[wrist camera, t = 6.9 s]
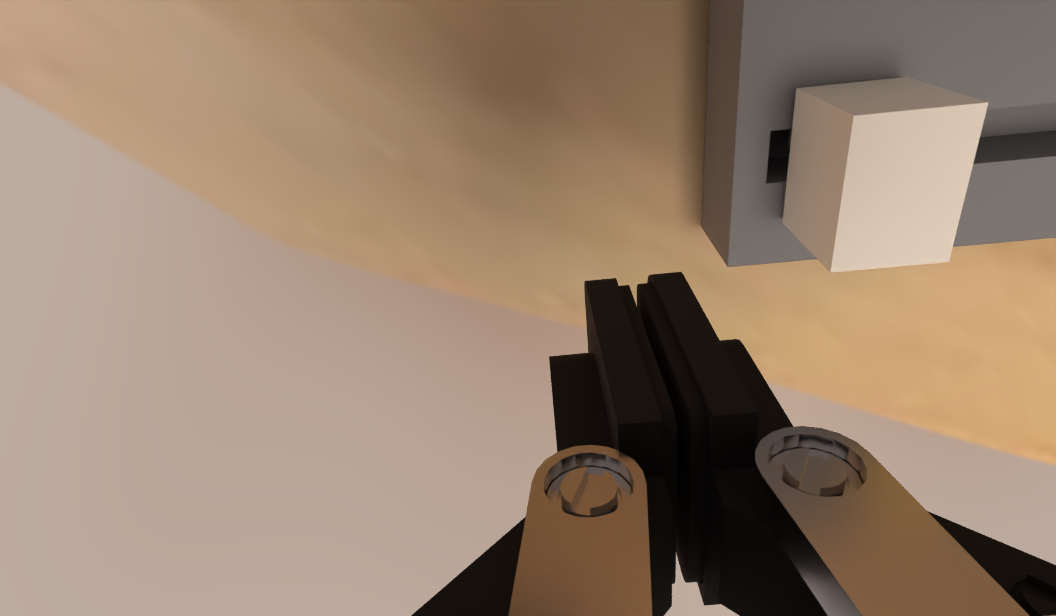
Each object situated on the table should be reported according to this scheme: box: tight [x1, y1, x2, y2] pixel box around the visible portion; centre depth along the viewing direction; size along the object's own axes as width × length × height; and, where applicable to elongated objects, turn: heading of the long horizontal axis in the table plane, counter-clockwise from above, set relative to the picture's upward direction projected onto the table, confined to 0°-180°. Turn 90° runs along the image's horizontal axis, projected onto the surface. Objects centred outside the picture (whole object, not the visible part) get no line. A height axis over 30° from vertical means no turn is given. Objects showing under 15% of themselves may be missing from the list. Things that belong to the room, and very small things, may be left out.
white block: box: [782, 77, 988, 273], centre depth 18 cm, size 3×4×6 cm
